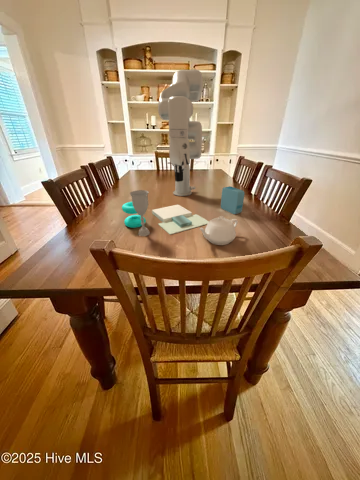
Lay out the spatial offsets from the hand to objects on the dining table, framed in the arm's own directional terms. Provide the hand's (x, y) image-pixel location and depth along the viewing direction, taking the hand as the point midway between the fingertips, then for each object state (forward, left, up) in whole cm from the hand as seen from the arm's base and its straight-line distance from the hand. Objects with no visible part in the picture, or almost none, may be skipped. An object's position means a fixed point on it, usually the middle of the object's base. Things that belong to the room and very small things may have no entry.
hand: (179, 180), depth 89 cm
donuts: (+20, -7, -19) cm, 29 cm away
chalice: (+20, +4, -19) cm, 28 cm away
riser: (0, -8, -19) cm, 21 cm away
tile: (+1, +4, -19) cm, 19 cm away
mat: (0, +5, -19) cm, 20 cm away
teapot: (-4, +25, -19) cm, 32 cm away
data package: (-30, +4, -19) cm, 36 cm away
